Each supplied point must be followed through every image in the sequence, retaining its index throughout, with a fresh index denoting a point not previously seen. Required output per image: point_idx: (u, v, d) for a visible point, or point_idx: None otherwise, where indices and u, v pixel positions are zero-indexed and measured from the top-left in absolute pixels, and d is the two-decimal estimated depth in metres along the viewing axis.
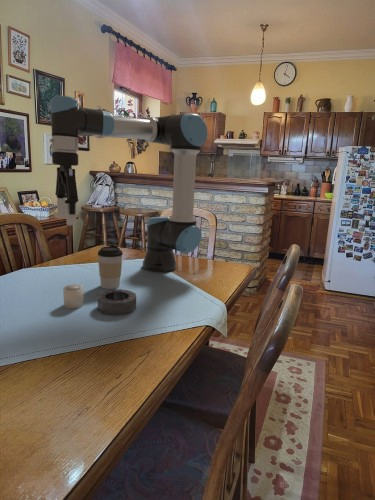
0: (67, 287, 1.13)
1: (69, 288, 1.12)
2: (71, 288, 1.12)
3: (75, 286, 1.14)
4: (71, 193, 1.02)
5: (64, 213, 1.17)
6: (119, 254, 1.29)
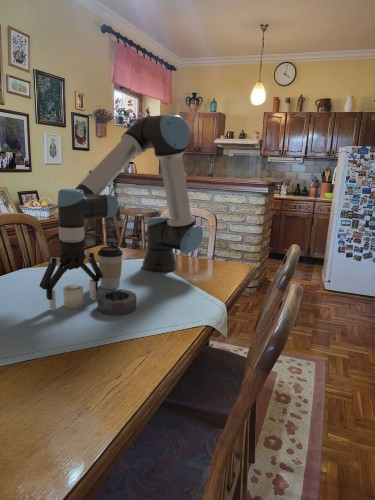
0: (67, 287, 1.13)
1: (69, 288, 1.12)
2: (71, 288, 1.12)
3: (75, 286, 1.14)
4: (42, 280, 1.07)
5: (92, 295, 1.19)
6: (119, 254, 1.29)
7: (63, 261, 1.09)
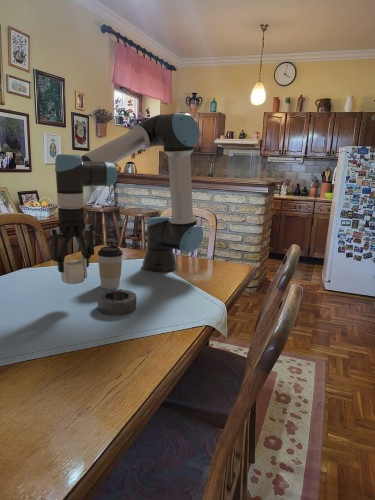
0: (67, 262, 1.11)
1: (69, 263, 1.11)
2: (71, 263, 1.11)
3: (76, 261, 1.13)
4: (51, 253, 1.07)
5: None
6: (119, 254, 1.29)
7: (63, 229, 1.06)
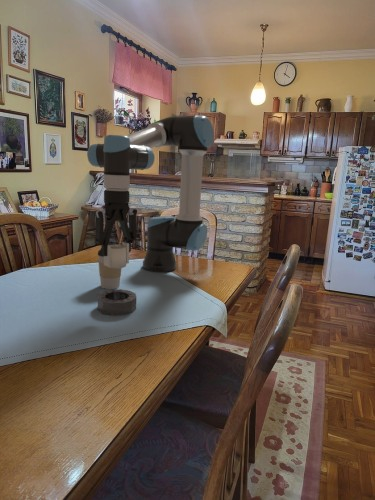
0: None
1: (113, 247, 1.09)
2: (115, 247, 1.09)
3: (118, 245, 1.11)
4: (96, 236, 1.05)
5: None
6: None
7: (109, 211, 1.05)
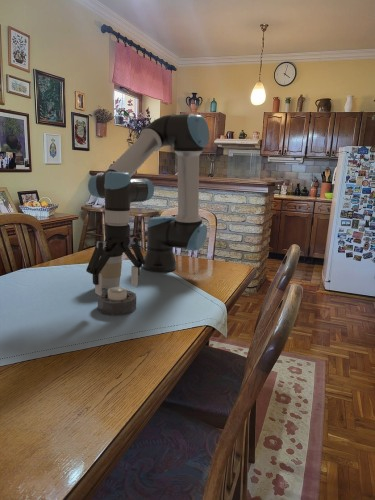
0: (111, 290, 1.13)
1: (114, 291, 1.12)
2: (116, 291, 1.12)
3: (119, 288, 1.14)
4: (89, 264, 1.05)
5: (134, 282, 1.17)
6: (119, 254, 1.29)
7: (109, 245, 1.07)
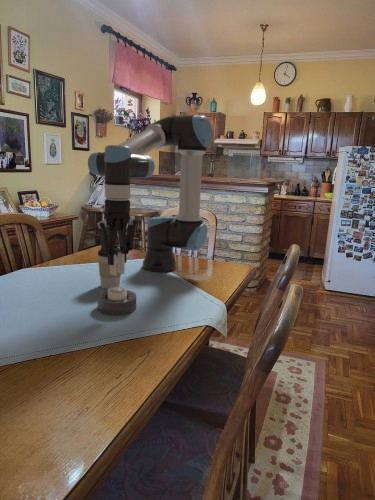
0: (111, 290, 1.13)
1: (114, 291, 1.12)
2: (116, 291, 1.12)
3: (119, 288, 1.14)
4: (102, 246, 1.07)
5: (121, 269, 1.12)
6: None
7: (110, 221, 1.05)
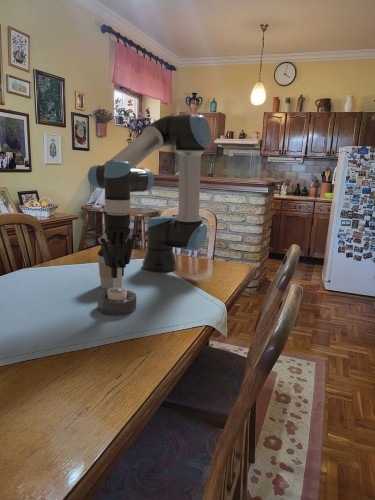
0: (111, 290, 1.13)
1: (114, 291, 1.12)
2: (116, 291, 1.12)
3: (119, 288, 1.14)
4: (105, 260, 1.09)
5: None
6: None
7: (110, 235, 1.06)
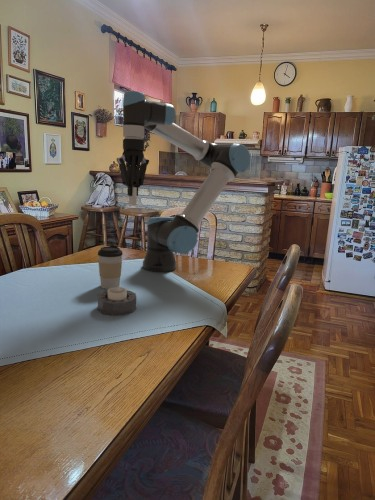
0: (111, 290, 1.13)
1: (114, 291, 1.12)
2: (116, 291, 1.12)
3: (119, 288, 1.14)
4: (122, 179, 1.28)
5: None
6: (119, 254, 1.29)
7: (128, 156, 1.26)
